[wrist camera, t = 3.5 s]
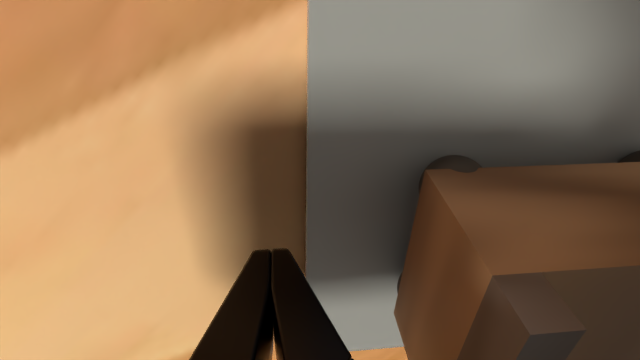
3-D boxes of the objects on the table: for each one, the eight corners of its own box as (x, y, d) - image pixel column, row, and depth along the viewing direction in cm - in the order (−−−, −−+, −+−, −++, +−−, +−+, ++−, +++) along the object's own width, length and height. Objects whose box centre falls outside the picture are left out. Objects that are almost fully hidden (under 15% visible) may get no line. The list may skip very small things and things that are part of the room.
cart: (384, 287, 12) (445, 481, 8) (411, 143, 9) (533, 330, 5) (586, 273, 13) (740, 442, 8) (673, 135, 10) (973, 291, 5)
